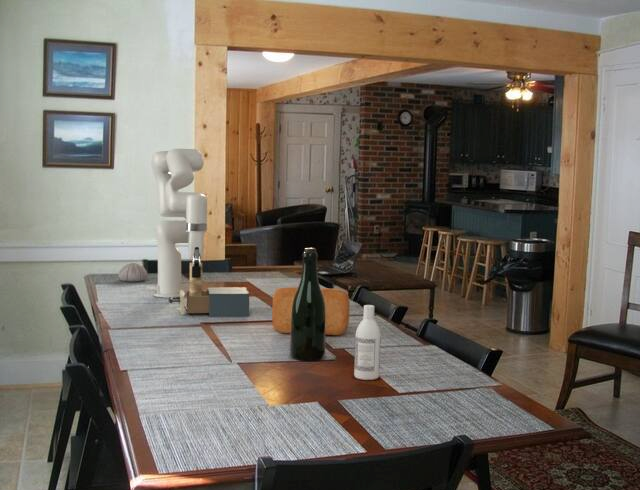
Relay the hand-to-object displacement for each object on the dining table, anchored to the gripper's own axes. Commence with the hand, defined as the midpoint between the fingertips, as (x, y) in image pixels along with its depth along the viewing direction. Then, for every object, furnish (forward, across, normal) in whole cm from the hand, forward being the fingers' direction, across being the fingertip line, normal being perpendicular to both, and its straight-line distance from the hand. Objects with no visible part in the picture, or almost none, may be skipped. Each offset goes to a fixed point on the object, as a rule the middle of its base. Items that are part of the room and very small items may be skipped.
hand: (195, 275), depth 300 cm
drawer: (+13, +1, -1) cm, 13 cm away
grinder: (+8, 0, 0) cm, 8 cm away
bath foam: (+12, +96, +42) cm, 105 cm away
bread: (+5, +43, +35) cm, 56 cm away
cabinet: (+14, +1, +12) cm, 19 cm away
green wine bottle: (+13, +72, +30) cm, 79 cm away
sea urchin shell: (+16, -80, -25) cm, 86 cm away
